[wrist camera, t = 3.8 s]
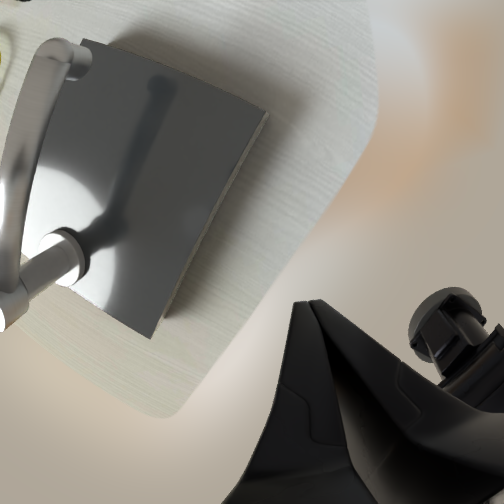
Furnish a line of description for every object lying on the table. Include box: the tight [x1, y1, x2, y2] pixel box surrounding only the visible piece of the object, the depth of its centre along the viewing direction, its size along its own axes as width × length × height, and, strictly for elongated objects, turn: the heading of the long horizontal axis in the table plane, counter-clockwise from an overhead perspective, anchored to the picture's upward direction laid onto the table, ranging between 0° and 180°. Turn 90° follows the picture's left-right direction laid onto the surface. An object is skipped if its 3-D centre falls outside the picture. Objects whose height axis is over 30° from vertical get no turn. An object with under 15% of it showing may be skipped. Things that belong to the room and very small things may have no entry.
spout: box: [0, 38, 92, 332], centre depth 12 cm, size 17×3×4 cm, turn 152°
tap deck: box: [19, 38, 269, 339], centre depth 18 cm, size 14×18×9 cm
